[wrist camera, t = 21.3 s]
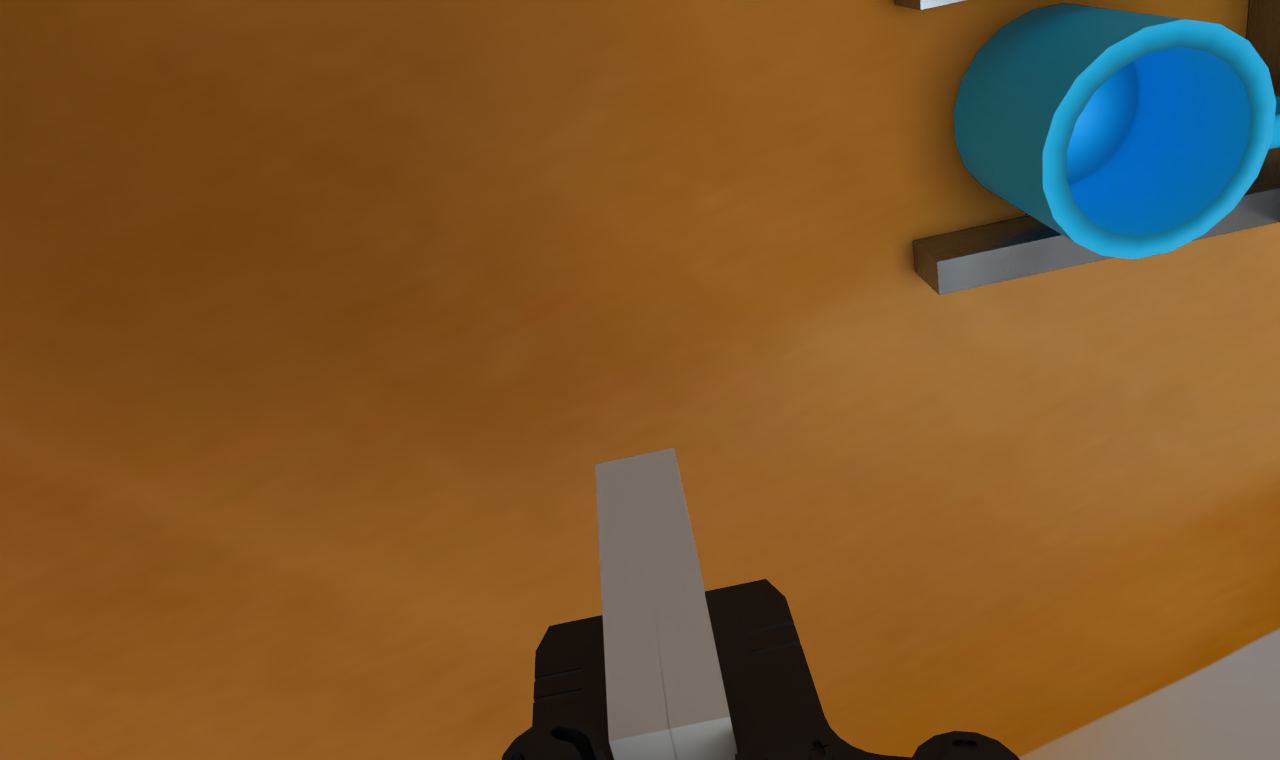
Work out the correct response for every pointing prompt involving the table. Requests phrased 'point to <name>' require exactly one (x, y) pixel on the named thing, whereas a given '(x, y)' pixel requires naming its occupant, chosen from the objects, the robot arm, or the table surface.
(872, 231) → the table surface
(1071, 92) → the mug
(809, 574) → the table surface
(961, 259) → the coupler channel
